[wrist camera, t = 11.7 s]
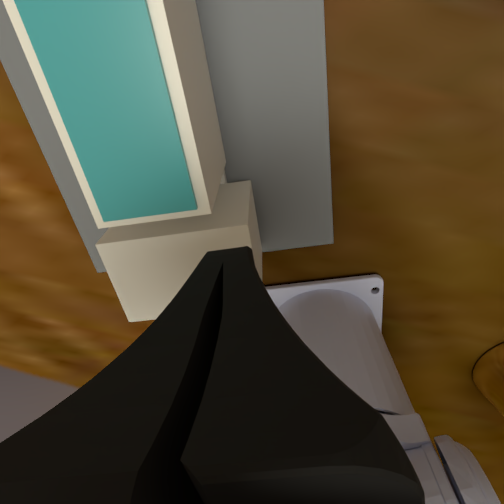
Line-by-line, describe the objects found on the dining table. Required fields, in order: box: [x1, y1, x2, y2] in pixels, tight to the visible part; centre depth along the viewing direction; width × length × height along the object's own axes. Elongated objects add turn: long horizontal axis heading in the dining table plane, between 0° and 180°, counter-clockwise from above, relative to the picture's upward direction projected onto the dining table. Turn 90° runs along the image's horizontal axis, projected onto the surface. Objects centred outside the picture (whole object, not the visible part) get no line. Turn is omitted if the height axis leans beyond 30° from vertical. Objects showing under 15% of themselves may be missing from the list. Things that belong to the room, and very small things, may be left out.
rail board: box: [0, 0, 334, 322], centre depth 14 cm, size 18×14×6 cm
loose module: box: [2, 0, 226, 229], centre depth 13 cm, size 7×4×6 cm, turn 9°
